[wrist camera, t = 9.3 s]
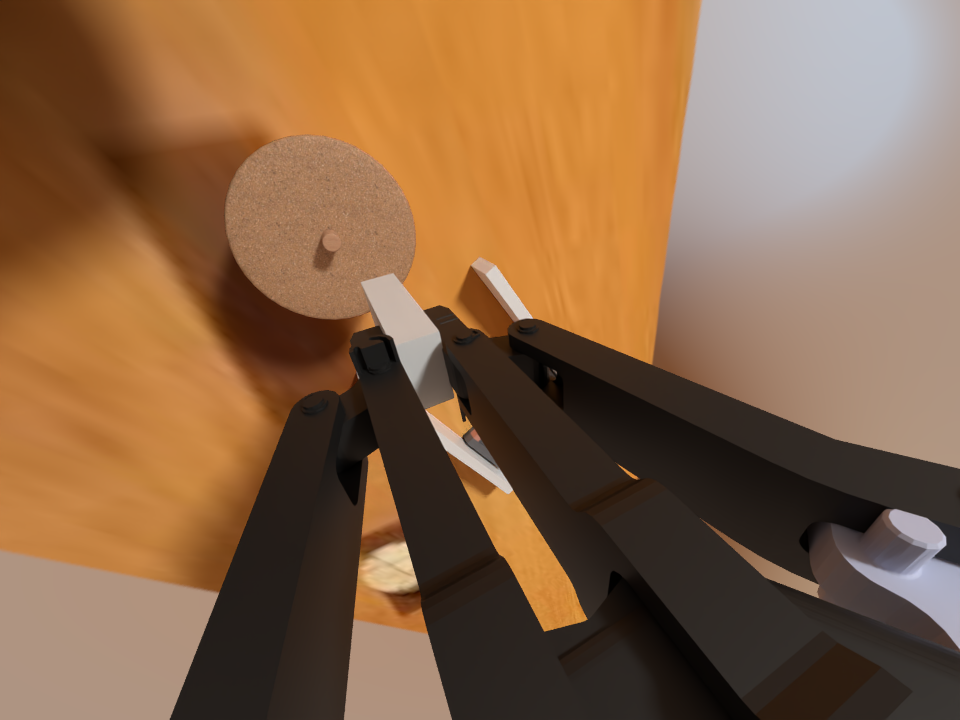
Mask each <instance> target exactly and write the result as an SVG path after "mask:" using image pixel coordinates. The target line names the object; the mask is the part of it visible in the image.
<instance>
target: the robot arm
mask: <svg viewBox="0 0 960 720" xmlns="http://www.w3.org/2000/svg"><path fill="white" fill-rule="evenodd" d="M361 285H362V288H363V291H364V294H365V297H366V300H367V303H368V306H369V309H370V312H371V314H372V317H373V320H374V323H375V327H372V328H369V329H366V330H363V331H359V332H356V333H354V334H353V336H352V338H351V340H350V343H351V348H350V350H349V354H350V357H351V359H352V362H353V364H354V366H355V369H356V371H357V374H358V376H359V379H358V381H357V382H356V384H355V385H354V386H353V387H352V388H351V389H349V390H348V391H346V392H345V393H343V394H341V395H338V394H337V393H336V392H334V391H329V390H325V391H318V392H315V393H311V394H309V395H308V396H305V397H304V398H302V399H301V400H300V401H299V402H297V403H296V404H295V405H294V407H293V408H292V410H291V411H290V414H289V417H288V419H287V422H286V424H285V427H284V429H283V432H282V434H281V437H280V440H279V442H278V445H277V447H276V450H275V452H274V455H273V457H272V460H271V463H270V465H269V468H268V470H267V473H266V475H265V478H264V480H263V483H262V485H261V488H260V491H259V493H258V496H257V498H256V501H255V503H254V506H253V508H252V511H251V514H250V516H249V519H248V521H247V524H246V526H245V529H244V531H243V534H242V537H241V539H240V542H239V544H238V547H237V549H236V552H235V554H234V557H233V559H232V562H231V565H230V567H229V570H228V572H227V575H226V577H225V580H224V582H223V585H222V588H221V590H220V593H219V595H218V598H217V600H216V603H215V605H214V608H213V611H212V613H211V616H210V618H209V621H208V623H207V626H206V629H205V631H204V634H203V636H202V639H201V641H200V644H199V646H198V649H197V651H196V654H195V656H194V659H193V662H192V664H191V667H190V669H189V672H188V675H187V677H186V679H185V682H184V685H183V687H182V690H181V692H180V695H179V697H178V700H177V703H176V705H175V708H174V710H173V713H172V715H171V718H170V720H344V712H345V701H346V691H347V680H348V670H349V659H350V649H351V639H352V628H353V618H354V607H355V597H356V587H357V576H358V566H359V555H360V545H361V534H362V524H363V513H364V503H365V493H366V482H367V472H368V458H367V456H368V455H369V454H371V453H372V452H374V451H375V450H376V449H378V448H379V450H380V453H381V456H382V460H383V463H384V467H385V470H386V474H387V477H388V481H389V484H390V488H391V491H392V495H393V498H394V502H395V505H396V509H397V512H398V516H399V519H400V523H401V526H402V530H403V533H404V537H405V540H406V544H407V547H408V551H409V554H410V558H411V561H412V564H413V568H414V571H415V575H416V578H417V582H418V585H419V589H420V593H421V607H422V612H423V616H424V620H425V624H426V628H427V631H428V635H429V638H430V642H431V645H432V649H433V653H434V656H435V660H436V664H437V667H438V671H439V674H440V678H441V681H442V685H443V689H444V692H445V696H446V699H447V703H448V707H449V710H450V714H451V717H452V720H960V469H958V468H954V467H949V466H945V465H941V464H937V463H933V462H928V461H924V460H920V459H915V458H911V457H907V456H903V455H899V454H894V453H890V452H885V451H882V450H877V449H873V448H869V447H864V446H861V445H856V444H852V443H848V442H843V441H839V440H835V439H832V438H830V437H827V436H825V435H823V434H820V433H817V432H815V431H813V430H810V429H808V428H805V427H803V426H800V425H798V424H795V423H793V422H790V421H788V420H786V419H783V418H781V417H778V416H776V415H773V414H771V413H768V412H766V411H764V410H761V409H759V408H756V407H753V406H751V405H749V404H746V403H744V402H741V401H739V400H736V399H734V398H731V397H729V396H727V395H724V394H722V393H719V392H717V391H714V390H712V389H709V388H707V387H704V386H702V385H699V384H697V383H694V382H692V381H690V380H687V379H685V378H682V377H680V376H677V375H675V374H672V373H670V372H667V371H665V370H663V369H660V368H658V367H655V366H653V365H650V364H648V363H645V362H643V361H640V360H638V359H635V358H633V357H631V356H628V355H626V354H623V353H621V352H618V351H616V350H613V349H611V348H608V347H606V346H603V345H601V344H599V343H596V342H594V341H591V340H589V339H586V338H584V337H581V336H579V335H576V334H574V333H571V332H569V331H567V330H564V329H562V328H559V327H557V326H554V325H552V324H549V323H547V322H544V321H542V320H538V319H530V318H526V319H521V320H518V321H516V322H514V323H512V324H511V325H510V326H509V328H508V336H501V337H494V338H488V337H487V336H486V335H485V334H484V333H483V332H482V331H480V330H477V329H472V328H471V329H468V328H467V327H466V326H465V325H464V324H463V323H462V322H461V321H460V320H459V318H458V317H457V316H456V315H455V314H454V313H453V312H452V311H451V310H450V309H449V308H446V307H443V306H440V305H439V306H436V307H433V308H430V309H427V310H422V309H421V307H420V306H419V305H418V304H417V302H416V301H415V300H414V299H413V297H412V296H411V295H410V294H409V292H408V291H407V290H406V289H405V287H404V286H403V285H402V284H401V282H400V281H399V280H398V279H397V277H396V276H395V275H394V273H392V274H388V275H384V276H381V277H377V278H374V279H370V280H366V281H363V282H361ZM549 368H551V369H553V370H555V371H556V372H557V377H553V376H551V375H550V373H549ZM452 387H453V389H454V390H455V392H456V393H457V397H458V402H459V406H460V411H461V415H462V419H463V422H465V421H466V418H465V416H466V417H467V418H468V420H469V421H470V423H471V424H472V426H473V428H474V429H475V431H476V432H477V434H478V435H479V437H480V439H481V440H482V442H483V443H484V445H485V446H486V448H487V450H488V451H489V453H490V454H491V456H492V457H493V459H494V461H495V462H496V464H497V465H498V467H499V468H500V470H501V472H502V473H503V475H504V476H505V478H506V479H507V481H508V483H509V484H510V486H511V487H512V489H513V490H514V492H515V494H516V495H517V497H518V498H519V500H520V501H521V503H522V505H523V506H524V508H525V509H526V511H527V512H528V514H529V516H530V517H531V519H532V520H533V522H534V523H535V525H536V527H537V528H538V530H539V531H540V533H541V534H542V536H543V538H544V539H545V541H546V542H547V544H548V545H549V547H550V549H551V550H552V552H553V553H554V555H555V556H556V558H557V560H558V561H559V563H560V564H561V566H562V567H563V569H564V571H565V572H566V574H567V575H568V577H569V579H570V581H571V582H572V584H573V586H574V589H575V591H576V594H577V597H578V600H579V602H580V605H581V607H582V609H583V611H584V613H585V615H586V617H587V619H588V620H586V621H584V622H581V623H577V624H573V625H569V626H565V627H561V628H557V629H553V630H550V631H546V632H544V631H543V629H542V627H541V625H540V623H539V621H538V619H537V617H536V615H535V613H534V611H533V609H532V608H531V606H530V604H529V602H528V600H527V598H526V596H525V594H524V592H523V590H522V588H521V586H520V584H519V583H518V581H517V579H516V577H515V575H514V573H513V571H512V570H511V568H510V566H509V564H508V563H507V561H506V560H505V558H504V557H502V556H500V555H499V554H498V552H497V551H496V549H495V547H494V545H493V543H492V541H491V539H490V537H489V535H488V533H487V531H486V529H485V527H484V525H483V523H482V522H481V520H480V518H479V516H478V514H477V512H476V510H475V508H474V506H473V504H472V502H471V500H470V498H469V496H468V494H467V492H466V490H465V488H464V486H463V484H462V482H461V480H460V478H459V476H458V474H457V472H456V470H455V468H454V466H453V464H452V462H451V460H450V458H449V456H448V454H447V452H446V450H445V448H444V446H443V444H442V442H441V440H440V438H439V436H438V434H437V433H436V431H435V429H434V427H433V425H432V423H431V421H430V419H429V417H428V415H427V413H426V411H425V409H427V408H430V407H432V406H435V405H437V404H440V403H442V402H445V401H447V400H450V399H453V398H454V394H453V389H452ZM615 462H616V463H617V464H619V465H620V466H622V467H623V468H625V469H626V470H628V471H629V472H631V473H632V474H634V475H635V476H637V477H638V478H640V480H636V479H634V478H632V477H630V476H629V475H628V474H627V473H626V472H625V471H624V470H622V469H621V468H620V467H619V466H618V465H617V464H616V463H615ZM700 518H701V519H702V520H704V521H705V522H707V523H708V524H710V525H711V526H713V527H714V528H716V529H717V530H719V531H721V532H722V533H724V534H725V535H727V536H728V537H730V538H731V539H733V540H734V541H736V542H738V543H739V544H741V545H743V546H744V547H746V548H748V549H749V550H751V551H752V552H754V553H756V554H757V555H759V556H761V557H762V558H764V559H766V560H768V561H770V562H772V563H774V564H776V565H778V566H780V567H782V568H784V569H786V570H788V571H790V572H791V573H794V574H796V575H798V576H801V577H803V578H805V579H808V580H810V581H812V582H815V583H817V584H819V585H820V586H819V588H818V595H819V598H816V597H814V596H811V595H809V594H806V593H803V592H801V591H798V590H795V589H793V588H790V587H787V586H785V585H782V584H780V583H777V582H775V581H772V580H769V579H767V578H765V577H763V576H762V575H761V574H760V573H759V572H758V571H757V570H756V569H755V568H754V567H753V566H751V565H750V564H749V563H748V562H747V561H746V560H745V559H744V558H743V557H741V556H740V555H739V554H738V553H737V552H736V551H735V550H734V549H733V548H732V547H731V546H730V545H728V544H727V543H726V542H725V541H724V540H723V539H722V538H721V537H720V536H719V535H718V534H716V533H715V532H714V531H713V530H712V529H711V528H710V527H709V526H708V525H707V524H706V523H704V522H703V521H702V520H701V519H700Z"/></svg>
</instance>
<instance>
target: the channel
mask: <svg viewBox="0 0 960 720" xmlns="http://www.w3.org/2000/svg"><path fill="white" fill-rule="evenodd" d="M471 266H472V268H473V269H474V270H475V272H476V273H477V274H478V276H479V277H480V278H481V279H482V281H483V282H484V283H485V285H486V286H487V287H488V289H489V290H490V291H491V293H492V294H493V295H494V297H495V298H496V299H497V300H498V302H499V303H500V304H501V306H502V307H503V308H504V310H505V311H506V312H507V314H508V315H509V316H510V317H511V319H512V320H513V321H514V322H516V321H518V320H521V319H526V318H530V319H533V318H532V316H531V315H530V313H529V312H528V311H527V309H526V308H525V306H524V305H523V304H522V302H521V301H520V299H519V298H518V296H517V295H516V294H515V292H514V291H513V289H512V288H511V287H510V285H509V284H508V282H507V281H506V279H505V278H504V277H503V275H502V274H501V272H500V271H499V270H498V268H497V267H496V265H494V264H492V263H490V262H488V261H487V260H485V259H483V258H481V257H479V258H478V259H477V260H476V261H475V262H474V263H473V264H472V265H471ZM549 369H550V370H551V371H552V372H553V374H554V375H555V376H556V377H557V372H556V371H555V370H553V369H551V368H549ZM357 376H358V374H357ZM358 379H359V376H358ZM425 411H426V410H425ZM426 413H427V415H428V417H429V419H430V421H431V423H432V425H433V427H434V429H435V431H436V433H437V434H438V436H439V438H440V440H441V442H442V444H443V446H444V448H445V450H446V451H448V452H449V453H450V454H452V455H453V456H455V457H456V458H458V459H459V460H460V461H462V462H463V463H465V464H466V465H467V466H469V467H470V468H472V469H473V470H475V471H476V472H477V473H479V474H480V475H482V476H483V477H484V478H486V479H487V480H489V481H490V482H491V483H493V484H494V485H496V486H497V487H499V488H500V489H501V490H503V491H504V492H506V493H507V494H509V493H510V492H511V491H512V490H513V489H512V487H511V486H510V484H509V483H508V481H507V479H506V478H505V476H504V475H503V473H502V472H501V470H500V468H498V467H497V466H496V465H494V464H493V463H492V462H490V461H489V460H488V459H487V458H485V457H484V456H483V455H481V454H480V453H479V452H478V451H476V450H475V449H474V448H472V447H471V446H470V445H468V444H467V442H466V441H465V440H464V439H462V438H461V437H460V436H458V435H457V434H456V433H454V432H453V431H452V430H451V429H449V428H448V427H447V426H445V425H444V424H443V423H442V422H440V421H439V420H438V419H436V418H435V417H434V416H433V415H431V414H430V413H429V412H427V411H426Z"/></svg>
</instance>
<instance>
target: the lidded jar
mask: <svg viewBox="0 0 960 720" xmlns="http://www.w3.org/2000/svg"><path fill="white" fill-rule="evenodd" d="M224 222H225V232H226V236H227V239H228V243H229V246H230V249H231V251H232V253H233V256H234V258H235V260H236V262H237V264H238V265H239V267H240V268H241V270H242V271H243V273H244V274H245V276H246V277H247V278H248V279H249V280H250V281H251V282H252V284H253V285H254V286H255V287H256V288H257V289H258V290H259V291H261V292H262V293H263V294H264V295H265V296H267V297H268V298H269V299H271V300H272V301H274V302H275V303H277V304H279V305H280V306H282V307H284V308H286V309H288V310H290V311H293V312H295V313H298V314H301V315H304V316H308V317H313V318H319V319H334V320H336V319H346V318H352V317H356V316H360V315H363V314H365V313H367V312H370V309H369V306H368V303H367V300H366V297H365V294H364V291H363V288H362V285H361V282H363V281H366V280H370V279H374V278H377V277H381V276H384V275H388V274H392V273H394V275H395V276H396V277H397V279H398V280H399V281H400V282H401V284H403V282H404V281H405V279H406V277H407V275H408V273H409V271H410V268H411V266H412V262H413V258H414V254H415V245H416V235H415V225H414V220H413V215H412V212H411V209H410V206H409V203H408V201H407V199H406V197H405V195H404V193H403V191H402V189H401V188H400V186H399V185H398V183H397V182H396V180H395V179H394V178H393V176H392V175H391V174H390V173H389V172H388V171H387V170H386V169H385V168H384V167H383V165H381V164H380V163H379V162H378V161H376V160H375V159H374V158H373V157H372V156H370V155H369V154H367V153H366V152H364V151H362V150H361V149H359V148H357V147H356V146H353V145H351V144H349V143H346V142H344V141H341V140H338V139H334V138H330V137H326V136H319V135H297V136H289V137H285V138H282V139H278V140H275V141H272V142H271V143H269V144H267V145H265V146H263V147H261V148H259V149H258V150H257V151H255V152H254V153H253V154H252V155H250V156H249V157H248V158H247V159H246V160H245V161H244V162H243V164H242V165H241V166H240V167H239V169H238V170H237V171H236V173H235V175H234V177H233V179H232V181H231V183H230V185H229V188H228V192H227V195H226V199H225V208H224Z"/></svg>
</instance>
